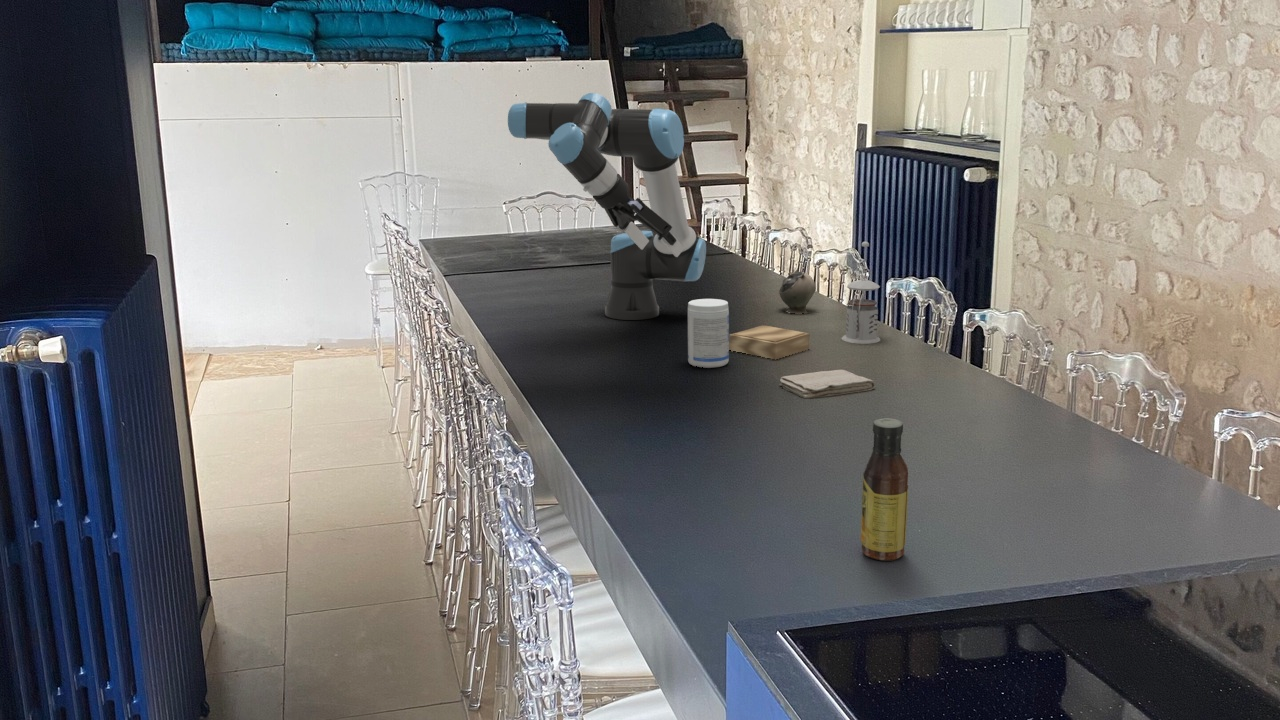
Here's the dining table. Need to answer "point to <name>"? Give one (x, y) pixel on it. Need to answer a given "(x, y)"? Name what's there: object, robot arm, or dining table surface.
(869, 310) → the french press
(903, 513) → the sauce bottle
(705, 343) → the supplement tub
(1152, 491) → the dining table surface
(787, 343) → the riser
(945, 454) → the dining table surface
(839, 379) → the washcloth
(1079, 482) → the dining table surface
